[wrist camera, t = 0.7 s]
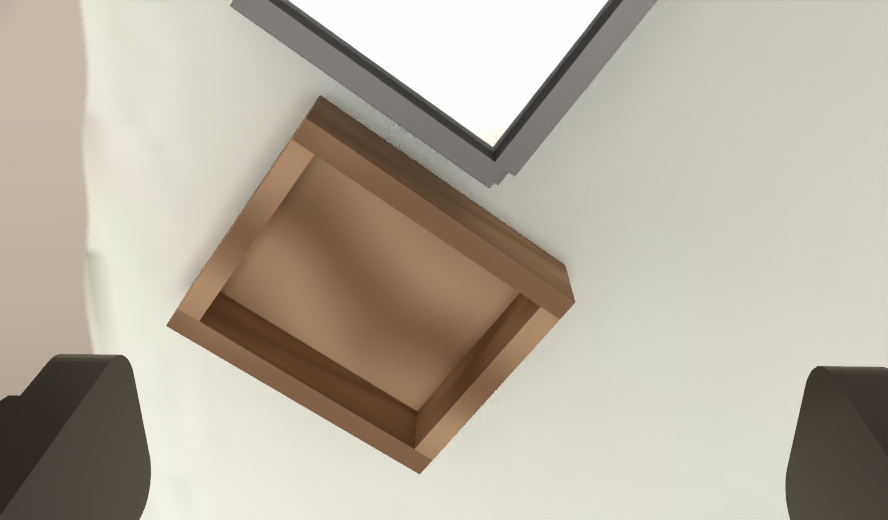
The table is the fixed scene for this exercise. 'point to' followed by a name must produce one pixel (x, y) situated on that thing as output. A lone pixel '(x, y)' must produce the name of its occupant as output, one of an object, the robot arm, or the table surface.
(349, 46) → the base
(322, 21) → the grey flat square panel
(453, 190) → the open wooden tray
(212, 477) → the table surface
